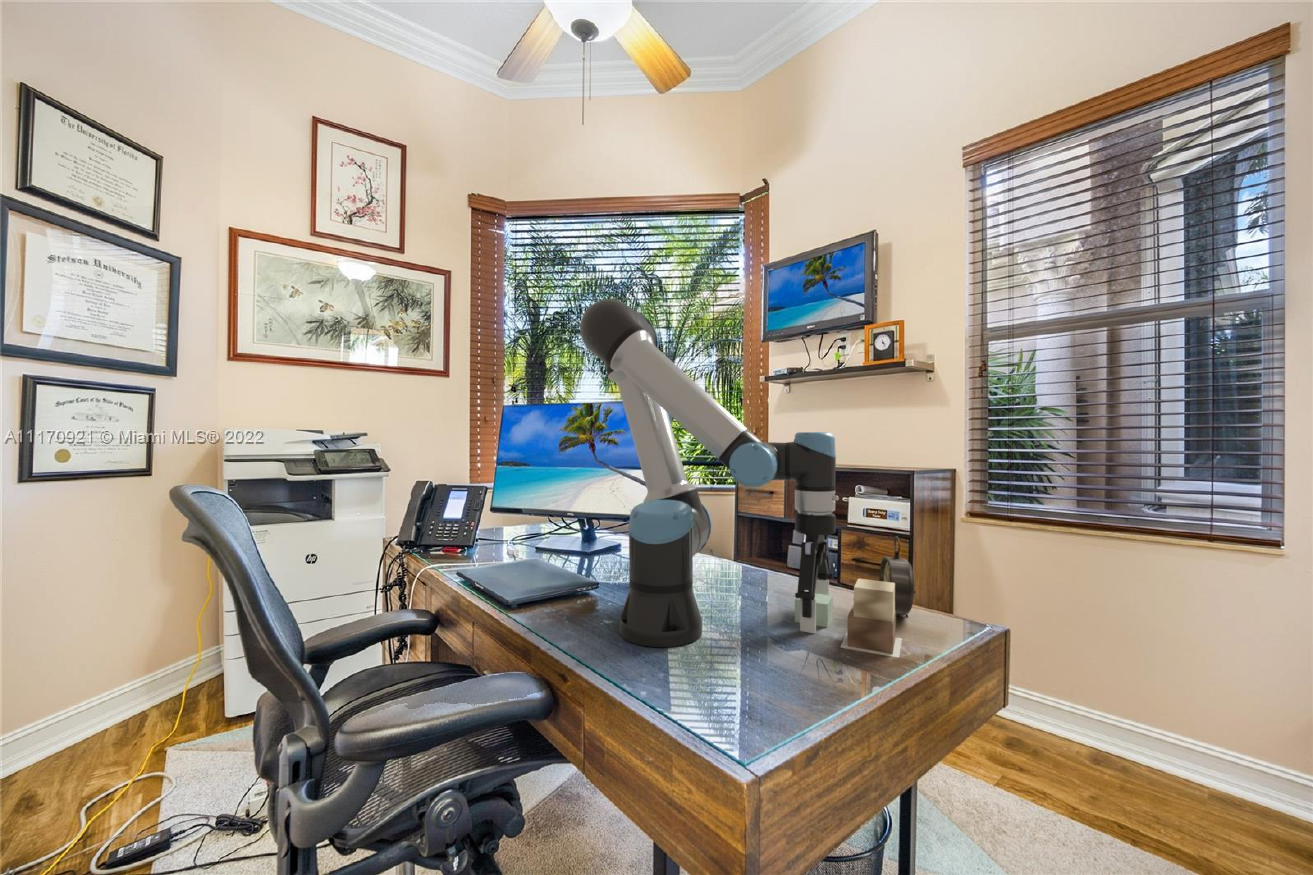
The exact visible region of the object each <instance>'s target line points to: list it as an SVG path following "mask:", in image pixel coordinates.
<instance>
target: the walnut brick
mask: <svg viewBox="0 0 1313 875" xmlns="http://www.w3.org/2000/svg"><path fill="white" fill-rule="evenodd" d="M896 626H897V623H896V611H895V614H894V619H893V623H892V622H886V621H879V620H872V619H866V618H859V617H854V604H853V605H852V606H851V608H850V610H849V612H848V615H847V630H846V633H847V646H850V647H855V648H861V649H867V650H872V651H878V652H884V653H889V654H893V650H894V645H895V637H896Z"/></svg>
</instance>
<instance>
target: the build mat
mask: <svg viewBox="0 0 1313 875" xmlns="http://www.w3.org/2000/svg"><path fill="white" fill-rule="evenodd" d="M902 641H903V638H902V637H896V636H895V645H894V650H893V654H889V653H884V652H878V651H872V650H867V649H861V648H855V647H850V646H847V632H846V633H845V636H844V638H843V640H842V642H841V645H840V648H842V649H847V650H851V651H859V652H863V653H870V654H876V655H881V656H886V657H891V658H892V657H893V658H897V659H898V658H900V654H901V649H902Z"/></svg>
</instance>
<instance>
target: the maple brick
mask: <svg viewBox="0 0 1313 875" xmlns="http://www.w3.org/2000/svg"><path fill="white" fill-rule="evenodd" d="M853 605H854V617H859V618H866V619H872V620H879V621H886V622H892V623H893V619H894V614H895V583H892V582H883V581H879V580H875V579H874V580H873V579H865V578H857V580H856V582H855V584H854V587H853Z"/></svg>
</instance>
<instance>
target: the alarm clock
mask: <svg viewBox="0 0 1313 875" xmlns="http://www.w3.org/2000/svg"><path fill="white" fill-rule="evenodd" d="M896 542H897V543H898V548H897V544H896ZM893 544H894V545H893V546H894V556H893V557H891V556H884V557H883V558H882V560H881V563H880V567H879V573H878V574H879V575H878V581H883V582H892V583H895V611H896V624H898V616H900V617H901V616H903V617H904V616H905V617H906V618H909V615H908V614H909V613H910V612H911V610H912V607H913V604H914V599H915V594H916V590H915V577H914V571H913V567H912V564H911V563H910V562H909V561H908V560H907V559H905V558H903V557H902V558H901V557H900V551H901V542H900V538H899V537H898V536H894V540H893ZM897 549H898V550H897Z"/></svg>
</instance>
